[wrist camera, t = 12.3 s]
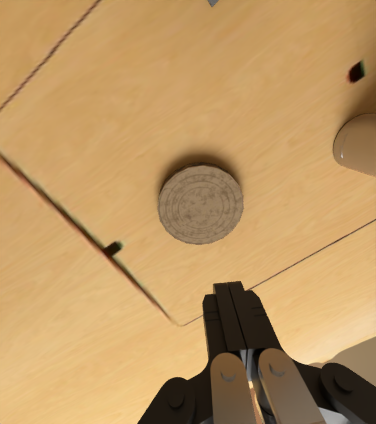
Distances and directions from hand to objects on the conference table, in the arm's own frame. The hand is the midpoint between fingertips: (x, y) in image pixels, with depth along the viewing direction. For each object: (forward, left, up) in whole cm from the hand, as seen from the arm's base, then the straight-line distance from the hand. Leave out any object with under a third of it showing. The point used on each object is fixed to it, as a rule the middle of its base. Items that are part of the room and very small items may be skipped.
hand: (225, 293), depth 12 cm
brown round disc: (-1, +7, -30) cm, 30 cm away
